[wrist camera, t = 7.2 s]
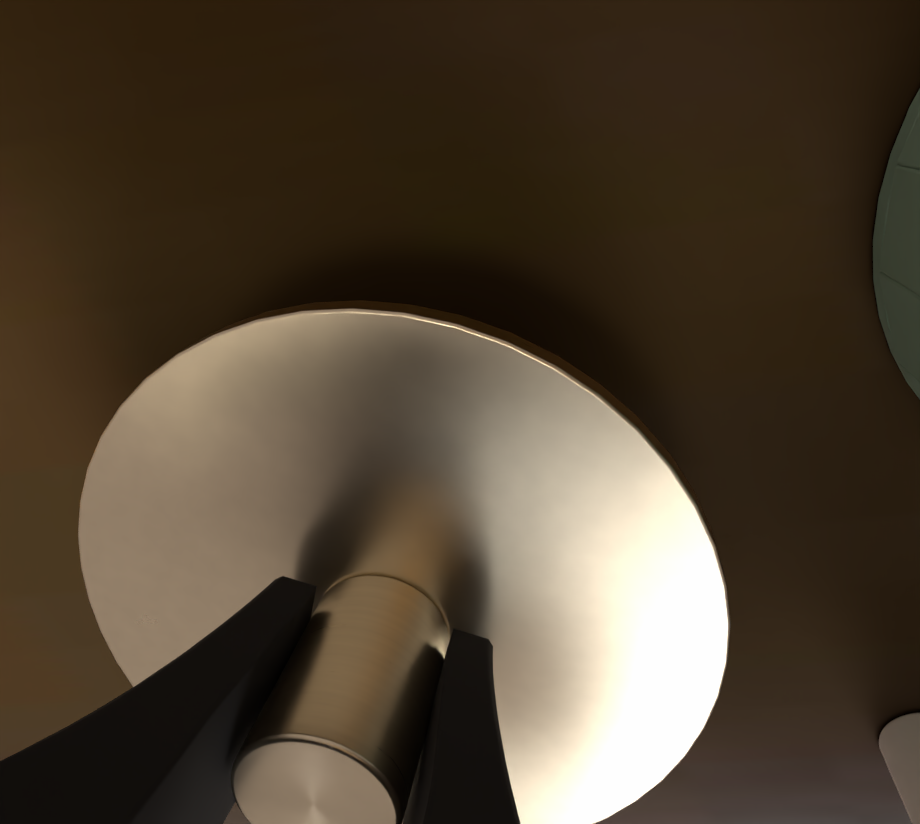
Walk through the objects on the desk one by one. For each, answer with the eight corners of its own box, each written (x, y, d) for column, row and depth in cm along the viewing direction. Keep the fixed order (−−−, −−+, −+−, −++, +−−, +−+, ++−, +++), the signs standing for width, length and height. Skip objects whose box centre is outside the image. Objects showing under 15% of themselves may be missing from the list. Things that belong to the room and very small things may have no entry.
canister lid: (842, 406, 11) (996, 603, 6) (599, 865, 16) (601, 1135, 12) (117, 204, 11) (-153, 269, 7) (111, 708, 16) (-49, 911, 12)
